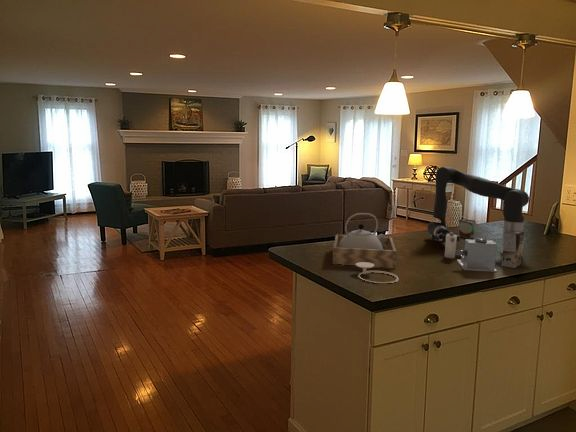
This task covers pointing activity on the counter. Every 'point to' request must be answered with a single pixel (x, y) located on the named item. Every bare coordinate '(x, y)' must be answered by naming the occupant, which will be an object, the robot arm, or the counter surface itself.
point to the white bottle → (450, 245)
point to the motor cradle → (478, 255)
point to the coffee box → (512, 248)
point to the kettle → (361, 237)
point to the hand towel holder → (370, 265)
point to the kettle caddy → (366, 254)
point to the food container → (466, 228)
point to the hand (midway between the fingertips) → (447, 240)
